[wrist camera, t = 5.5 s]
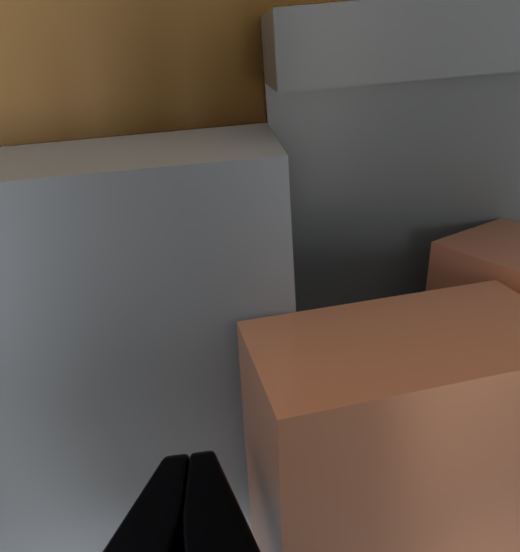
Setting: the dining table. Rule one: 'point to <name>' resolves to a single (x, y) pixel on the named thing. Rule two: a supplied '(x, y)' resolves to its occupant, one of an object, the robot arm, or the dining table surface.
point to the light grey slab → (129, 317)
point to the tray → (391, 134)
